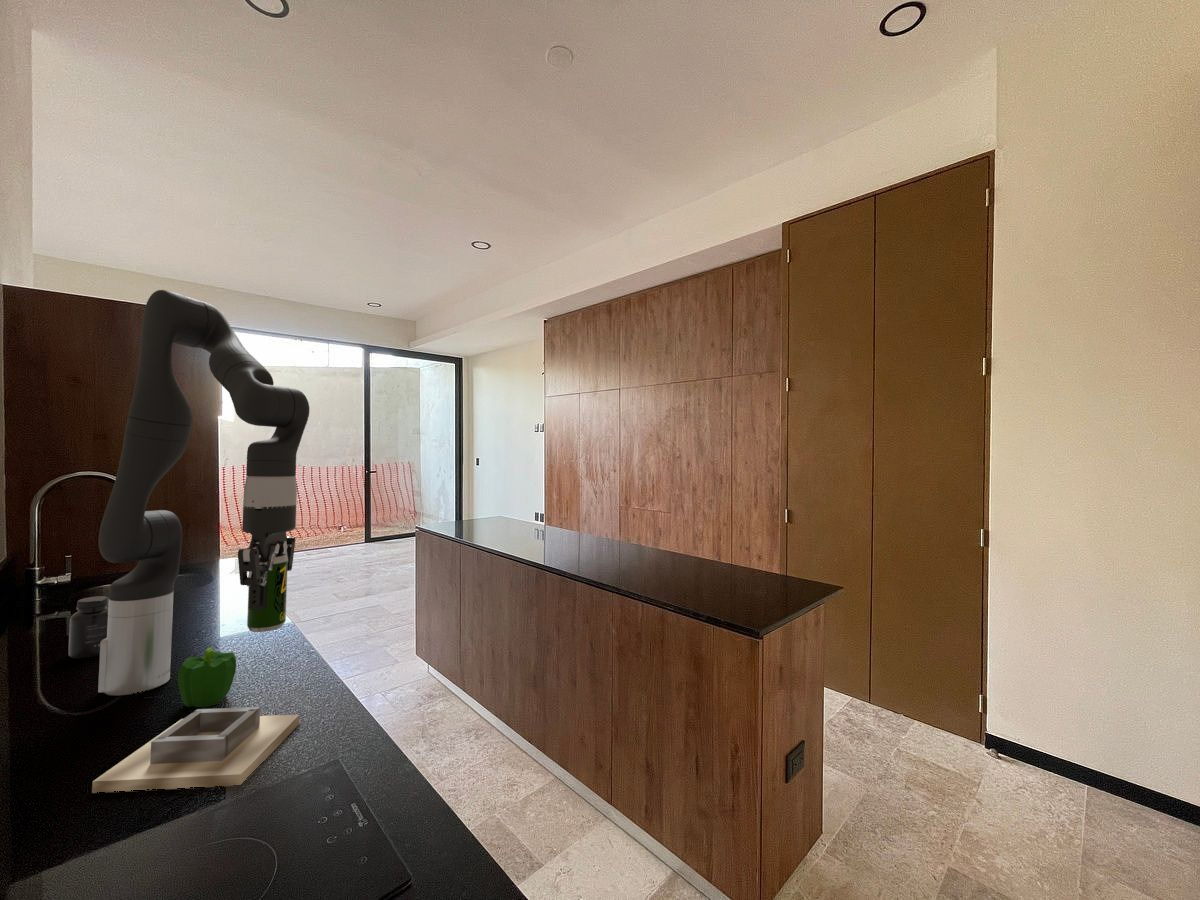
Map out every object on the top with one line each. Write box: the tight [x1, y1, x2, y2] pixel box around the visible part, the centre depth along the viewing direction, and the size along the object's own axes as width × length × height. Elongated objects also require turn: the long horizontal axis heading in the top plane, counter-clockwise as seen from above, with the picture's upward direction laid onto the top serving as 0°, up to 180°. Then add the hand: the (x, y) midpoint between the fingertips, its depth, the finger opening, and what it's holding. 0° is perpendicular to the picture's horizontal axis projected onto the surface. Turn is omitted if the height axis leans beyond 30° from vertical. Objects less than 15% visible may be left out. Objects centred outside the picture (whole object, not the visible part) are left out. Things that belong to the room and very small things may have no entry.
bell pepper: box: [177, 647, 237, 709], centre depth 89 cm, size 8×8×10 cm
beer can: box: [246, 554, 288, 633], centre depth 84 cm, size 5×5×12 cm
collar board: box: [91, 706, 300, 794], centre depth 74 cm, size 18×16×4 cm
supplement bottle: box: [68, 595, 109, 659], centre depth 111 cm, size 7×7×12 cm
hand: (266, 603), depth 84 cm, fingers closed on beer can, 5 cm apart
